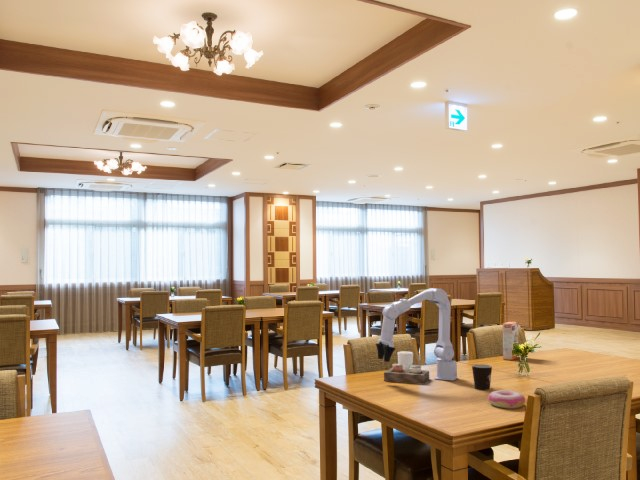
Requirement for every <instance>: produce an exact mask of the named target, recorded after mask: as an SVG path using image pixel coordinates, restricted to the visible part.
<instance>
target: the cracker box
mask: <svg viewBox="0 0 640 480" xmlns="http://www.w3.org/2000/svg"><path fill="white" fill-rule="evenodd" d="M514 343H518V344H519V322H518V321H507V322H503V323H502V360H505V361H513V360H516V359H517V358H518V357H517V356H514V355H512V350H513V344H514Z"/></svg>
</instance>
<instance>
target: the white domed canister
mask: <svg viewBox="0 0 640 480" xmlns="http://www.w3.org/2000/svg"><path fill="white" fill-rule="evenodd" d="M410 368H411V373H417V374H420V373H421V370H422V366H421V365H420V364H413V365H411V366H410Z"/></svg>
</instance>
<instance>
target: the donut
mask: <svg viewBox="0 0 640 480" xmlns="http://www.w3.org/2000/svg"><path fill="white" fill-rule="evenodd" d="M487 398H488V401H489V403H490V404H491V405H492V406H494V407H496V408H501V409H513V410H514V409H519V408H522V407H523V406H524V404H525V402H526V399H525V396H524V395H523V394H522V393H520V392H518V391H514V390H504V389H502V390H501V389H500V390H499V389H498V390H494V391H491V392H490V393H489V394H488V397H487Z"/></svg>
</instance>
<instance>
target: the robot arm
mask: <svg viewBox="0 0 640 480" xmlns="http://www.w3.org/2000/svg"><path fill="white" fill-rule="evenodd" d="M425 300H428V301H430V302H432V303H434V304H435V305H436V306H437V307H438V338H437V339H438V340H437V341H436V343H435V347H434V349H433V354H434V356H435V358H436V377H434V380H441V381H442V380H443V381H455V380H456V379H458V368H457V366H458V365H457V361H456V360H453V359H454V357H455V351H454V347H453V346H454V345H453V344H452V342H451V306H452V305H451V302H450V299H449V297H448V292H447V291H445V290H444V289H443V288H436V287H435V288H434V287H429V288H428V289H424V290H422V291H421V292H419V293H418V294H416V295H414V296H411V298H409V299H407V298H400V299H399V300H398V301H397V302H395V303H391V304H390V306H389V305H386V306H385V307H383V309H382V311H381V314H382V316H383V318H382V324H381V332H380V338H378V339H377V343H375V345H376V350H377V359H378V360H383V361H384V362H385V363H386V362H387V363H389V362H390V361H391V357H392V355H393V353H394V352H395V350H396V347H395V342H393V339H394V332H395V331H394V330H395V326H396V325H395V324H396V319H397V318H398V317H399V316H400V315H401V314H404V313H406V312H407V311H409V310H411V307H412V306H414V305H415V304H419V303H421V302H422V301H425Z"/></svg>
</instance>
